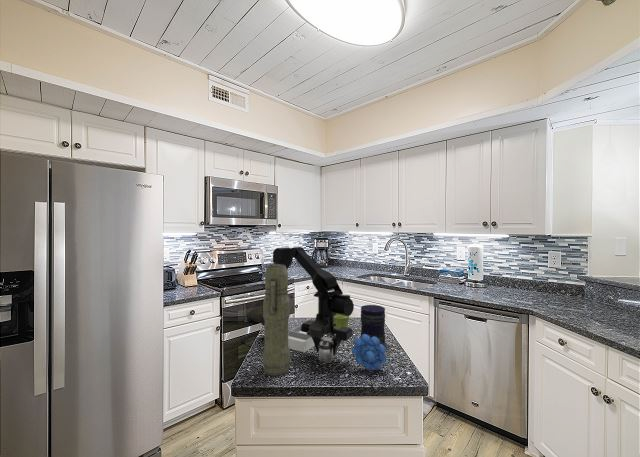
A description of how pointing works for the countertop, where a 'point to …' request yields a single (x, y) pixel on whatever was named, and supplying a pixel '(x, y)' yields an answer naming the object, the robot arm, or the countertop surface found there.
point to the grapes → (369, 352)
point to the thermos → (276, 321)
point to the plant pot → (341, 321)
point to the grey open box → (299, 340)
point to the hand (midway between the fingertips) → (326, 353)
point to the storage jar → (373, 322)
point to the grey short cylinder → (325, 349)
